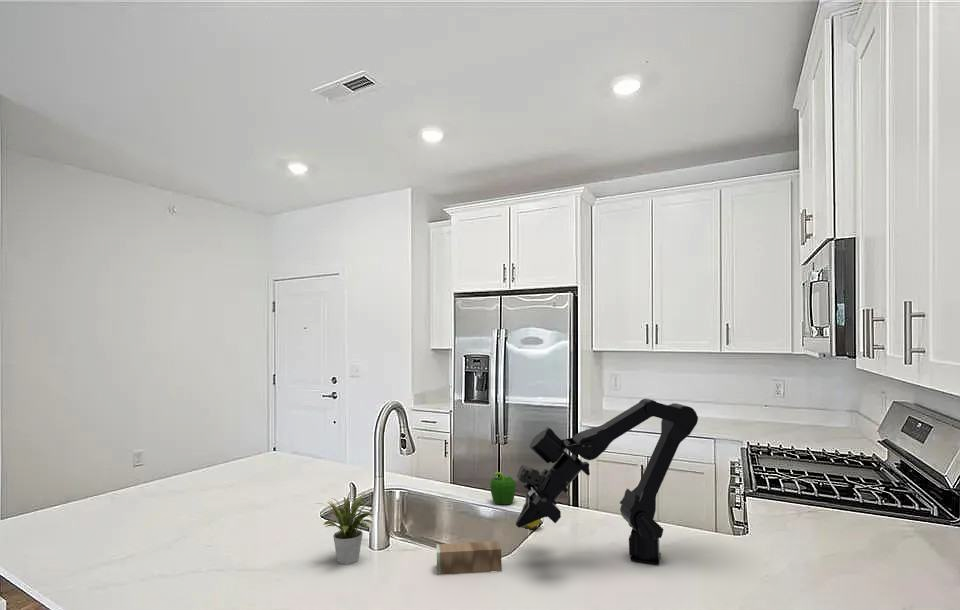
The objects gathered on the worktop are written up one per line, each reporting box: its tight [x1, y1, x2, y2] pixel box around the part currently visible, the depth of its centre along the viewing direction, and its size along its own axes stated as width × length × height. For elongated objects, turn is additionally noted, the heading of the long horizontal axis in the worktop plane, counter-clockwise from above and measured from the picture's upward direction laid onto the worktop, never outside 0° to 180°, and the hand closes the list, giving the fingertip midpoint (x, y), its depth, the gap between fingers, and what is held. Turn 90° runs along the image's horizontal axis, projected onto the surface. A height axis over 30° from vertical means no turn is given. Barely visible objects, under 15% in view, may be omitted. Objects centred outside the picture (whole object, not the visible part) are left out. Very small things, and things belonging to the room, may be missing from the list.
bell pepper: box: [490, 471, 517, 506], centre depth 170 cm, size 8×8×10 cm
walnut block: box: [436, 540, 503, 576], centre depth 122 cm, size 5×5×15 cm
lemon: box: [522, 503, 542, 530], centre depth 147 cm, size 6×6×8 cm
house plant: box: [314, 491, 375, 565], centre depth 127 cm, size 14×14×16 cm
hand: (517, 525), depth 123 cm, fingers closed
